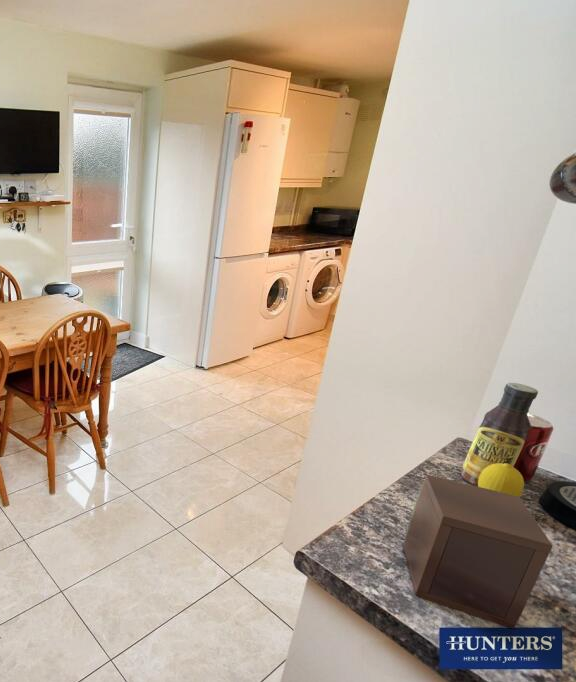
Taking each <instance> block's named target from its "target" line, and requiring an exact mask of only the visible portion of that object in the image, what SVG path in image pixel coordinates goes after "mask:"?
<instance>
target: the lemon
mask: <svg viewBox="0 0 576 682" xmlns="http://www.w3.org/2000/svg"><path fill="white" fill-rule="evenodd" d="M477 487H481V488H485V489H490V490H494V491H498V492H502V493H506V494H510V495H514V496H519V497H520V498H521V496H522V494H523V492H524V488H525V483H524V480H523V477H522V475H521V474H520V472H519V471H518V470H517V469H515V468H514V467H512V466H511V465H510V464H507V463H505V464H501V463H497V464H492V465H489V466H487V467H486V468H485V469H484V470H483V471H482V472H481V474H480V476H479V479H478V486H477Z"/></svg>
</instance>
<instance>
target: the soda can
mask: <svg viewBox="0 0 576 682" xmlns="http://www.w3.org/2000/svg"><path fill="white" fill-rule="evenodd" d="M527 416H528V419H529V422H530V424H531V428H530V430H529V433H528V435H527V437H526V439H525V443H524V445H523V447H522V450H521V452H520V454H519V456H518V458H517V460H516V462H515V464H514V466H513V467H514V468H515V469H517V470H518V471H519V472H520V474H521V475H522V477H523V480H524V484H526V483H530V482H532V481H533V480H534V477H535V474H536V473H537V471H538V467H539V465H540V463H541V460H542V458H543V456H544V453H545V452H546V449H547V446H548V443H549V441H550V439H551V436H552V434H553V432H554V426H553V424H552V423H551V422H550V421H549V420H547V419H545V418H543V417H541V416H539V415H536V414H532V413H529V412H528V413H527Z"/></svg>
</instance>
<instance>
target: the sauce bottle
mask: <svg viewBox="0 0 576 682" xmlns="http://www.w3.org/2000/svg"><path fill="white" fill-rule="evenodd" d="M538 394H539V391H538V390H537V389H536V388H534V387H532V386H529V385H527V384H523V383H517V382H507V383H506V384H505V386H504V388H503V394H502V397H501V399H500V401H499V403H498V405H497V406H495V407H493V408H491V409H490V410H489V411H487V412H486V413H485V414H484V416H483V420H482V422H481V423H480V425H479V426H478V429H477V431H476V433H475V435H474V438H473V441H472V442H471V445H470V448H469V450H468V452H467V455H466V457H465V459H464V461H463V463H462V468H461V471H460V476H461V478H463V479H464V480H465V481H467V482H468V483H470V485H473V486H477V487H478V479H479V476H480V474H481V472H482V471H483V470H484V469H485V468H486V467H487V466H489V465H492V464H497V463H501V464H505V463H507V464H510V465H511V466H512V467H513V466H514V464H515V462H516V460H517V458H518V456H519V454H520V452H521V450H522V447H523V445H524V443H525V439H526V437H527V435H528V433H529V430H530V428H531V424H530V422H529V419H528V416H527V413H529V412H530V408H531V405H532V403H533V401H534V400H535V399H536V398H537V396H538Z"/></svg>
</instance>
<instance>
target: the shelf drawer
mask: <svg viewBox="0 0 576 682" xmlns="http://www.w3.org/2000/svg"><path fill="white" fill-rule="evenodd" d="M423 483H424V482H422V483H421V485H420V488H419V491H418V494H417V498H416V500H415V504H414V507H413V510H412V513H411V516H410V518H409V522H408V525H407V529H406V531H405V536H406V535H407V532H408V529H409V526H410V523H411V520H412V517H413V514H414V511H415V508H416V505H417V502H418V499H419V496H420V493H421V490H422V486H423Z"/></svg>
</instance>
